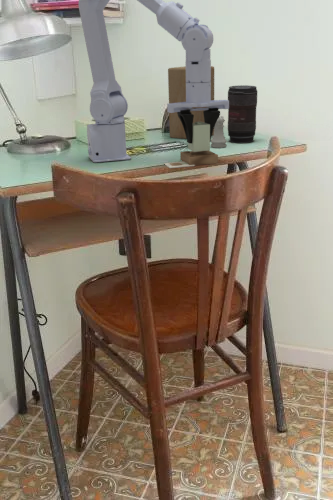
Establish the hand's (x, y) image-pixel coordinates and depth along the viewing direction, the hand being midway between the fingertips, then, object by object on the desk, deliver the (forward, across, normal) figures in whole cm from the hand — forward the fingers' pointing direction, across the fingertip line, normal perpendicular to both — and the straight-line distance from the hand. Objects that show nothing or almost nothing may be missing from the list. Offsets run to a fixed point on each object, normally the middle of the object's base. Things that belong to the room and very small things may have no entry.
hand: (198, 142), depth 128 cm
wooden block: (+5, +10, +35) cm, 37 cm away
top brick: (+2, 0, 0) cm, 2 cm away
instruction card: (+5, -6, -2) cm, 7 cm away
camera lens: (+5, +20, +21) cm, 30 cm away
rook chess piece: (+5, +12, +16) cm, 20 cm away
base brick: (+5, 0, 0) cm, 5 cm away
